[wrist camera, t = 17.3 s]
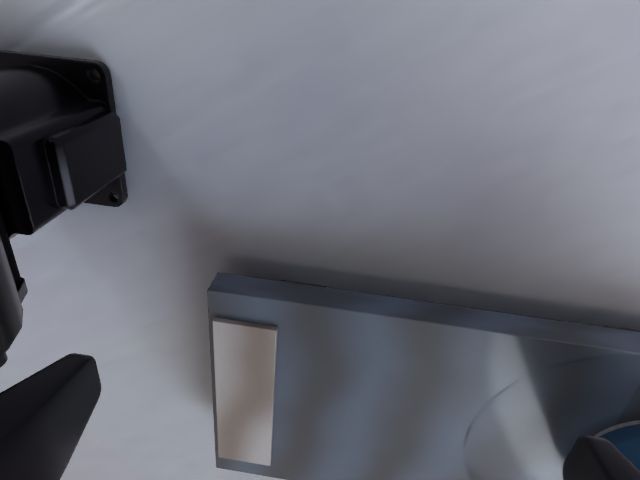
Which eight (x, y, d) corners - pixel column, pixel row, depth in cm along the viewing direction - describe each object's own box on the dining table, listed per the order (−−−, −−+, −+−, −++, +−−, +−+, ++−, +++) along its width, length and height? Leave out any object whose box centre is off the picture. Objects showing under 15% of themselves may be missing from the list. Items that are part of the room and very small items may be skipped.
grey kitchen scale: (230, 425, 29) (214, 472, 26) (227, 255, 23) (204, 293, 20) (646, 493, 28) (677, 552, 25) (770, 331, 21) (830, 385, 18)
